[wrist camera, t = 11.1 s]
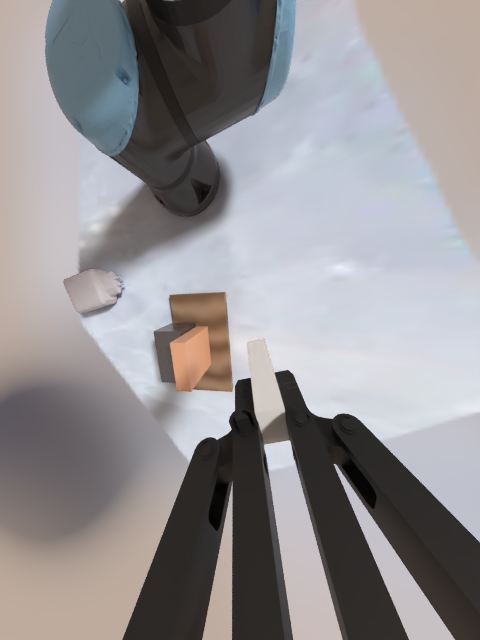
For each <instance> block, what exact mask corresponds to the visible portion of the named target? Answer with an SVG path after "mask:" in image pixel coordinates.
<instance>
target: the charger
mask: <svg viewBox="0 0 480 640" xmlns="http://www.w3.org/2000/svg"><path fill="white" fill-rule="evenodd" d="M119 278H121V276H118V277H117V276H116V275H115V274H114V273H113V272H112V271H111V272H108V273H107V272H105V271H104V270H102V269H89V270H87V271H84V272H82V273H79V274H77V275H74V276H72V277H69V278H67V279H64V285H65V288H66V290H67V292H68V294H69V297H70V299H71V301H72V303H73V305H74V308H75V309H76V311H77V312H79V313H84V312H89V311H93V310H96V309H99V308H102V307H105V306H108V305H111V304H114V303H116V302H117V295H116V294H119V293H121V285H123V284H124V283H123V282H122V283H120V282H119Z"/></svg>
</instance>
